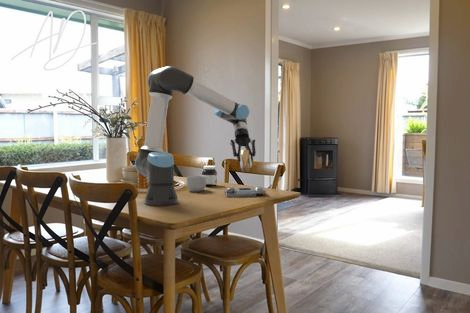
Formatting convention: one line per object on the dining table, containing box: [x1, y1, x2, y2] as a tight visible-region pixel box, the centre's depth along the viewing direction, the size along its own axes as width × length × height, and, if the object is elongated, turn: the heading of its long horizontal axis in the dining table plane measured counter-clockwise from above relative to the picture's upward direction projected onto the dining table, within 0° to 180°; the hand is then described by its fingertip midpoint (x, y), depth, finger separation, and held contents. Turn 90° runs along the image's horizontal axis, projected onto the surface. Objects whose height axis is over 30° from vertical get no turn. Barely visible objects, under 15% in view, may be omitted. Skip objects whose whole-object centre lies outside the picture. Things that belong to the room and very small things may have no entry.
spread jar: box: [201, 165, 218, 188], centre depth 242 cm, size 12×11×12 cm
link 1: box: [224, 187, 257, 198], centre depth 212 cm, size 15×10×4 cm, turn 98°
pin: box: [240, 149, 250, 173], centre depth 211 cm, size 4×4×11 cm
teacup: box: [185, 174, 207, 193], centre depth 226 cm, size 14×11×8 cm
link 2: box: [233, 186, 267, 196], centre depth 213 cm, size 15×10×4 cm, turn 98°
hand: (246, 166), depth 208 cm, fingers closed on pin, 4 cm apart
